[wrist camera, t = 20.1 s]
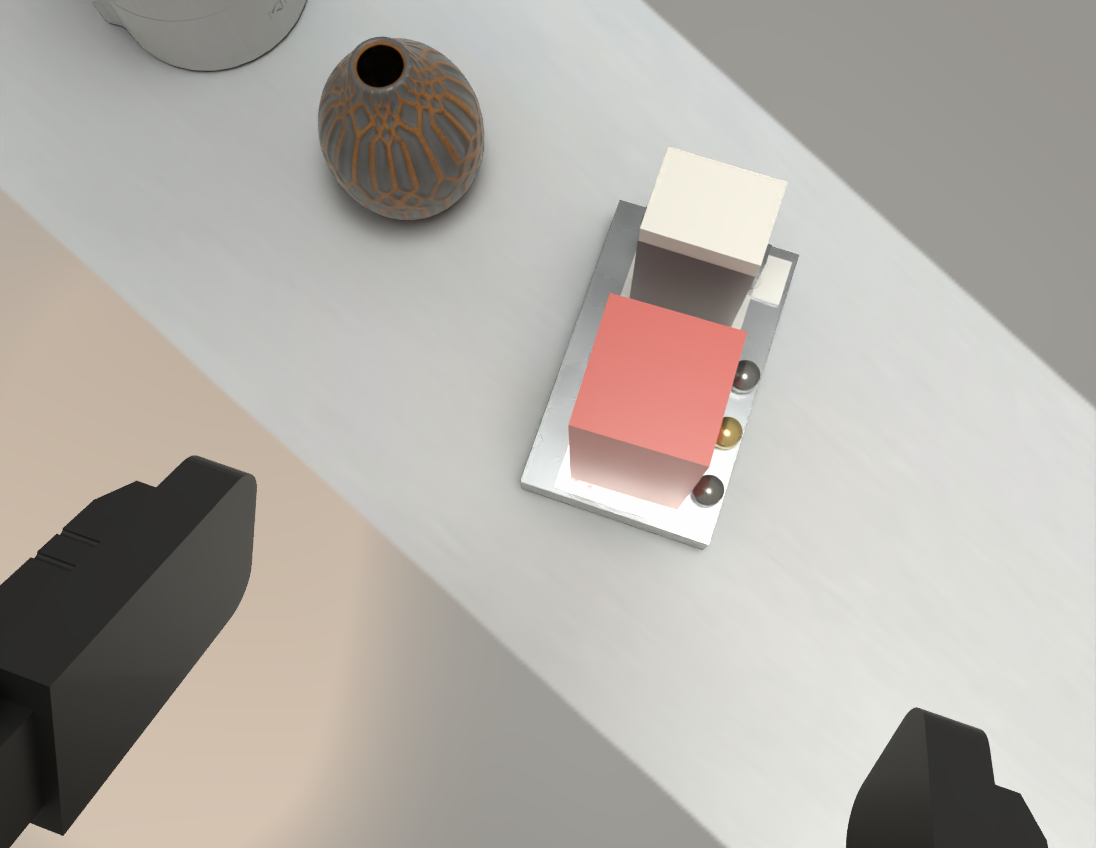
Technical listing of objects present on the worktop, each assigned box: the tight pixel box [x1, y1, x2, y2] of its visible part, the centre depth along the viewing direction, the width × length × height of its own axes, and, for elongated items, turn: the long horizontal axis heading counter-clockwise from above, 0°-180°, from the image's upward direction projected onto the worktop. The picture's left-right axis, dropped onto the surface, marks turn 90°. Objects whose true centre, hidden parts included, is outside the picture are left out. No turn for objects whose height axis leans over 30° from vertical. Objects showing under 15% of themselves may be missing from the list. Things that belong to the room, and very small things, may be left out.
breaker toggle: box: [629, 146, 787, 327], centre depth 37 cm, size 3×4×10 cm
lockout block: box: [568, 293, 747, 510], centre depth 37 cm, size 4×4×10 cm
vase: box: [318, 37, 484, 220], centre depth 42 cm, size 7×7×9 cm
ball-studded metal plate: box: [520, 200, 799, 550], centre depth 42 cm, size 13×8×5 cm, turn 161°
